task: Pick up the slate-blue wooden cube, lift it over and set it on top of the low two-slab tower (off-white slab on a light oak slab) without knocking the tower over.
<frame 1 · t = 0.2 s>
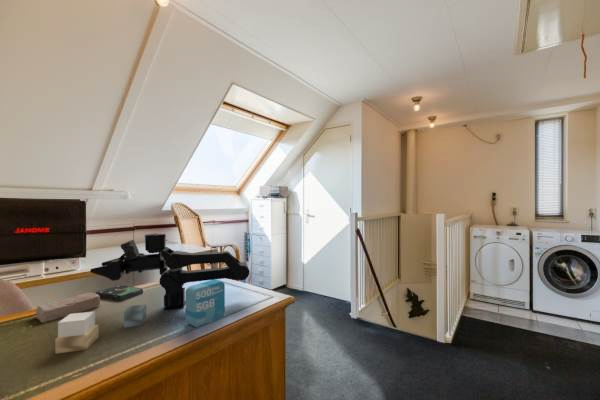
hand: (96, 267, 97), 16 cm above the table, fingers open, 9 cm apart
oak slab: (78, 345, 76), on the table, touching white slab
brick: (69, 313, 100), on the table
disk drive: (119, 296, 117), on the table
blue cube: (135, 323, 90), on the table
data package: (206, 320, 91), on the table
white slab: (77, 331, 76), point 4 cm above the table, touching oak slab
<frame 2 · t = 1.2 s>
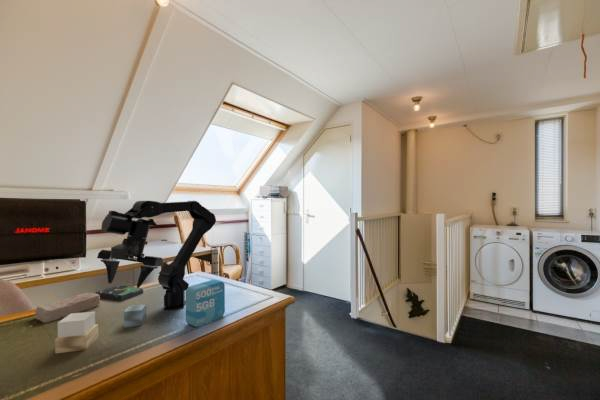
hand: (123, 285, 89), 12 cm above the table, fingers open, 9 cm apart
oak slab: (78, 345, 76), on the table
white slab: (77, 331, 76), point 4 cm above the table
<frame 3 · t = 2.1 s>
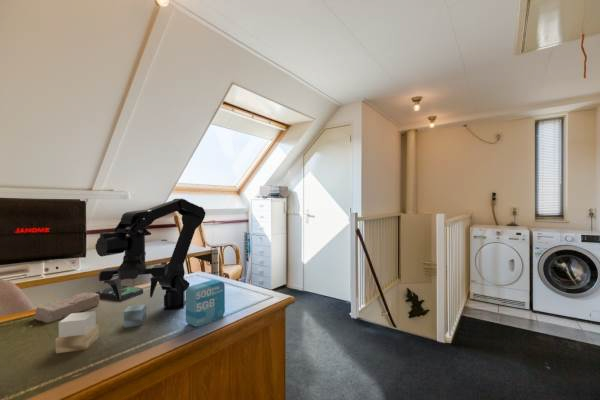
hand: (135, 298, 90), 8 cm above the table, fingers open, 9 cm apart
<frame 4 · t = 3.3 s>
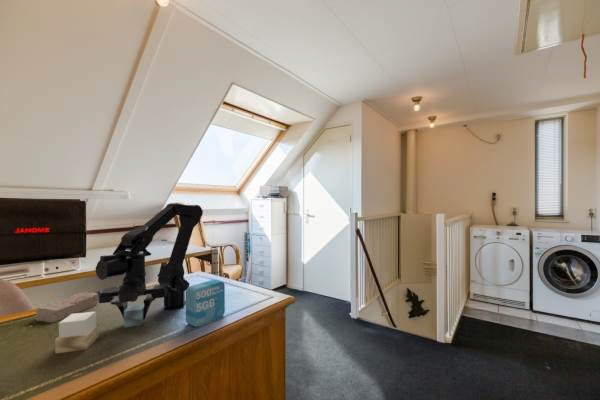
hand: (135, 319, 90), 1 cm above the table, fingers closed on blue cube, 5 cm apart
oak slab: (78, 345, 76), on the table, touching white slab
blue cube: (135, 323, 90), on the table, touching gripper
white slab: (78, 331, 76), point 4 cm above the table, touching oak slab
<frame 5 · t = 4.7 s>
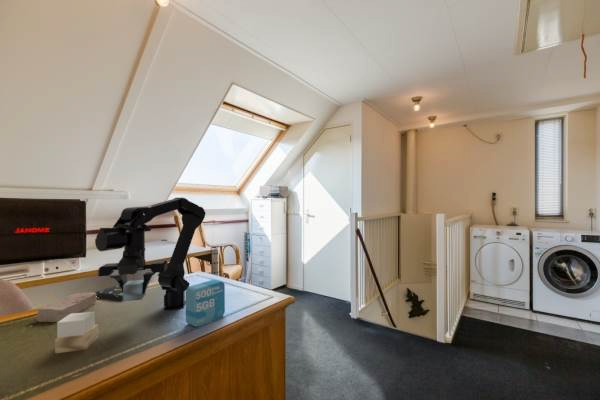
hand: (134, 294, 90), 9 cm above the table, fingers closed on blue cube, 5 cm apart
blue cube: (134, 297, 90), point 8 cm above the table, touching gripper
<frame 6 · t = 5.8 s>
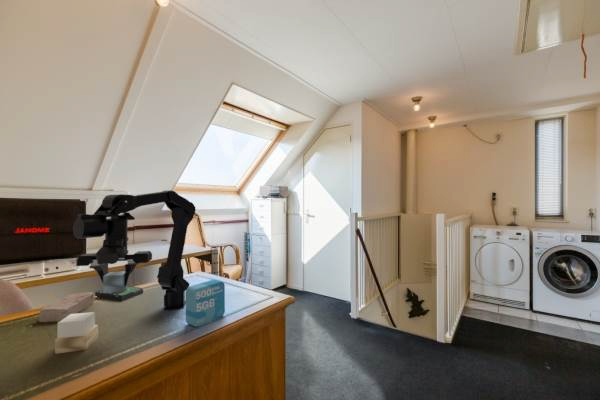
hand: (115, 286, 85), 13 cm above the table, fingers closed on blue cube, 5 cm apart
blue cube: (116, 289, 85), point 12 cm above the table, touching gripper
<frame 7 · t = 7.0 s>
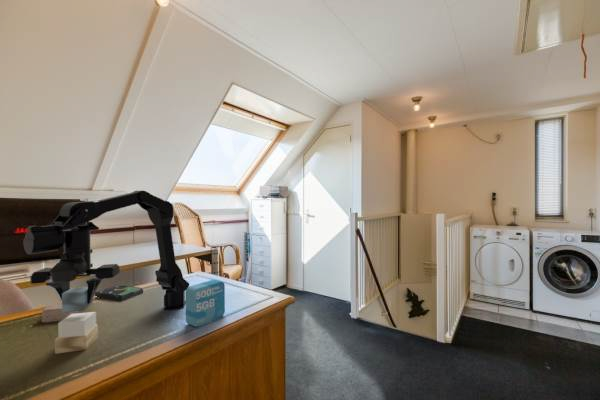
hand: (78, 304, 76), 11 cm above the table, fingers closed on blue cube, 5 cm apart
blue cube: (78, 308, 76), point 10 cm above the table, touching gripper
when the fingers open (10 cm above the table, at t = 7.6 s): blue cube drops 1 cm, resting on white slab.
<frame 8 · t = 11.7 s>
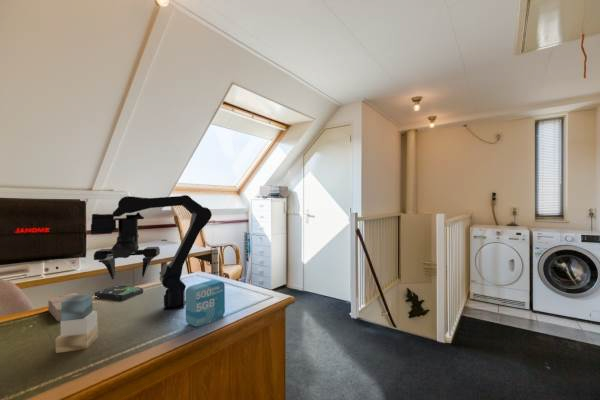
hand: (128, 278, 95), 13 cm above the table, fingers open, 9 cm apart
blue cube: (77, 316, 77), point 8 cm above the table, touching white slab
white slab: (79, 330, 77), point 4 cm above the table, touching blue cube, oak slab
at the end: blue cube 0.5 cm off-centre on the white slab, point 4.0 cm above the white slab's base; blue cube tilted 0°; white slab 0.4 cm off-centre on the oak slab, point 4.0 cm above the oak slab's base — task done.
